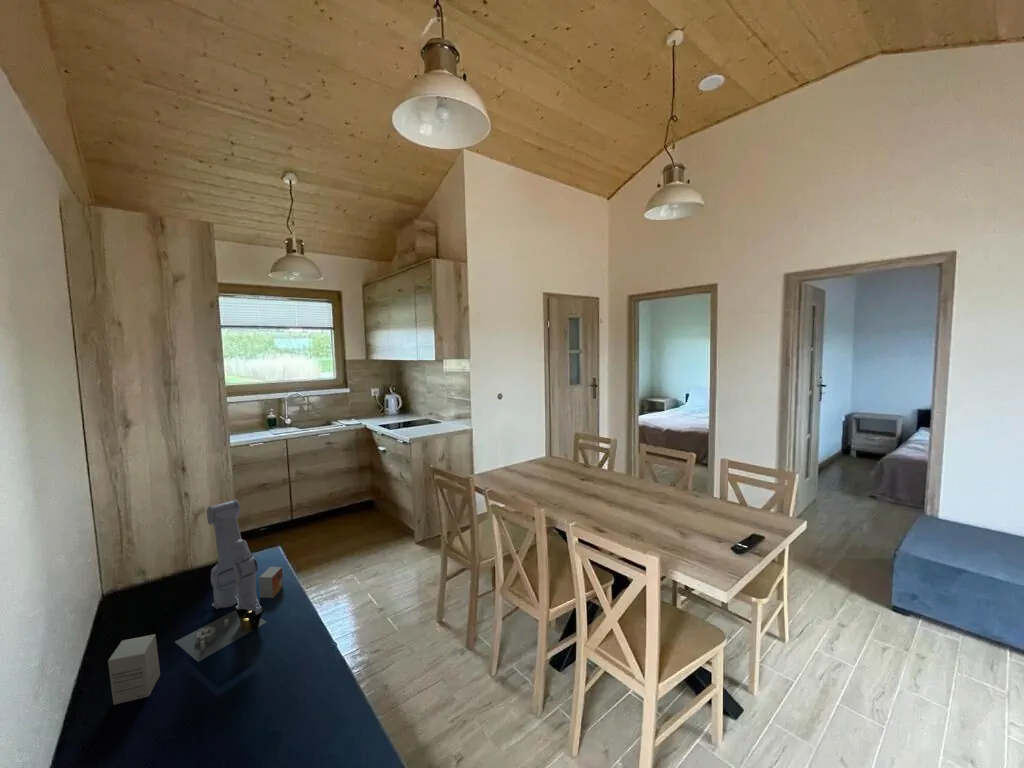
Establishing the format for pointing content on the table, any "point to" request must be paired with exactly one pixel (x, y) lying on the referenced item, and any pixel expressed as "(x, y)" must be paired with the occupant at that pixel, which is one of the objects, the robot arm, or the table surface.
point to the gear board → (213, 636)
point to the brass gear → (245, 622)
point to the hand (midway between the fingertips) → (249, 624)
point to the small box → (271, 582)
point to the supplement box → (134, 669)
